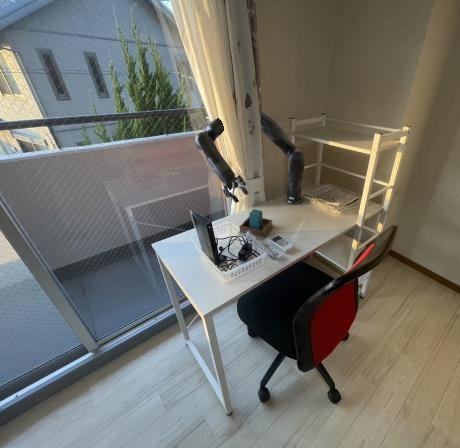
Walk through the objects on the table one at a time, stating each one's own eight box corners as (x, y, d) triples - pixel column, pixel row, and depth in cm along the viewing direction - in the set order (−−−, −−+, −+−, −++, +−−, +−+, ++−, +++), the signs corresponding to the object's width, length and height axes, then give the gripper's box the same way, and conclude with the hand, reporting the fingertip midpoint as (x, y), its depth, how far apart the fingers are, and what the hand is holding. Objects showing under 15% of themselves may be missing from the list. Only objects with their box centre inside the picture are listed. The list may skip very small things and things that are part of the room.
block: (254, 225, 132) (253, 209, 127) (262, 227, 131) (262, 210, 125) (250, 230, 128) (249, 213, 123) (258, 232, 127) (258, 215, 121)
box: (250, 221, 136) (250, 215, 134) (272, 226, 133) (272, 220, 131) (240, 233, 127) (239, 226, 124) (263, 238, 123) (262, 231, 121)
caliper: (246, 239, 122) (245, 229, 119) (247, 238, 123) (247, 228, 120) (274, 259, 110) (274, 247, 107) (276, 257, 111) (276, 246, 108)
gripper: (227, 168, 129) (245, 194, 134) (210, 179, 119) (230, 207, 123) (236, 162, 124) (254, 189, 129) (219, 173, 114) (239, 202, 119)
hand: (242, 198), depth 126 cm, fingers open, 8 cm apart
